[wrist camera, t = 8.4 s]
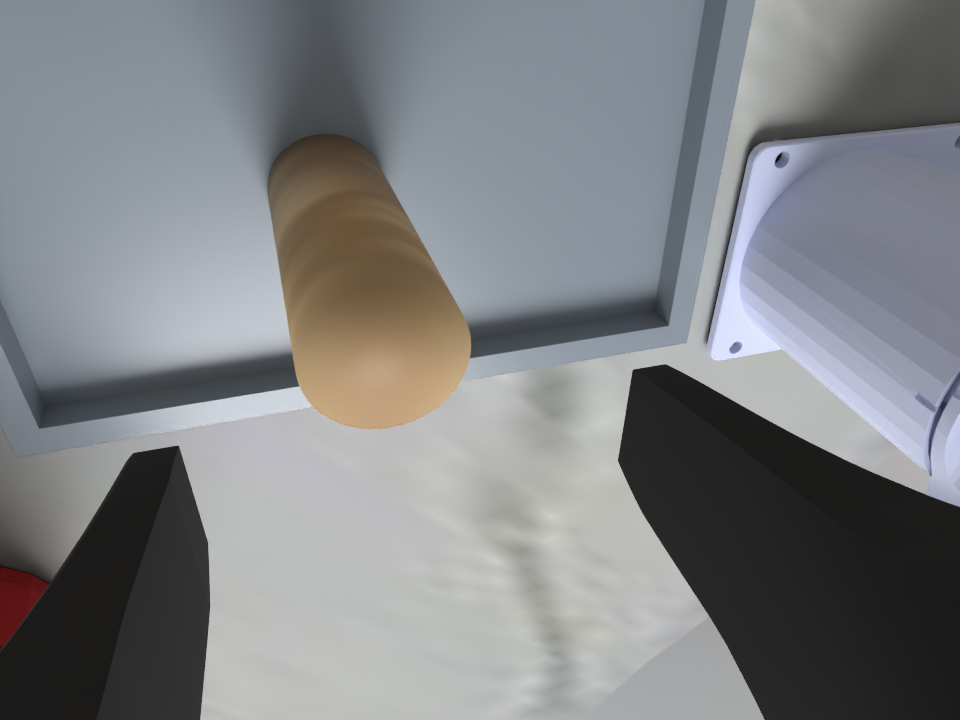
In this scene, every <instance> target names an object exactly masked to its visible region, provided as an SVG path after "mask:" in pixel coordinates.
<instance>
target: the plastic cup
mask: <svg viewBox="0 0 960 720" xmlns="http://www.w3.org/2000/svg"><path fill="white" fill-rule="evenodd" d="M48 585H49V584H47V583H46V582H44V581H42V580H41V579H39V578H37V577H36V576H34V575H32V574H29V573H25V572H20V571H16V570H12V569H8V568H4V567H0V650H1V648H2V647H3V646H4V645H5V643H6V642H7V641H8V640H9V638H10V637H11V636H12V634H13V633H14V632H15V630H16V629H17V628H18V626H19V625H20V623H21V622H22V621H23V619H24V618H25V617H26V615H27V614H28V613H29V611H30V610H31V608H32V607H33V606H34V604H35V603H36V602H37V600H38V599H39V598H40V596H41V595H42V593H43V592H44V591H45V589H46V588H47V587H48Z"/></svg>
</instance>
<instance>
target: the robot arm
mask: <svg viewBox="0 0 960 720" xmlns="http://www.w3.org/2000/svg"><path fill="white" fill-rule="evenodd" d="M780 153H782V156H781V158H780V160H779V161H778V162H777V163H775V159H776V157H777V156H778V155H779V154H780ZM733 343H735V344H734V345H733V346H732V347H730V346H731V345H732V344H733ZM780 349H783V350H784V351H785V352H786V353H787V354H788V355H790V356H791V357H792V358H793V359H794V360H796V361H797V362H798V363H799V364H800V365H801V366H803V367H804V368H805V369H806V370H807V371H808V372H810V373H811V374H812V375H813V376H814V377H815V378H817V379H818V380H819V381H820V382H821V383H822V384H824V385H825V386H826V387H827V388H828V389H829V390H831V391H832V392H833V393H834V394H835V395H836V396H838V397H839V398H840V399H841V400H842V401H844V402H845V403H846V404H847V405H848V406H849V407H851V408H852V409H853V410H854V411H855V412H856V413H858V414H859V415H860V416H861V417H862V418H863V419H865V420H866V421H867V422H868V423H869V424H870V425H872V426H873V427H874V428H875V429H876V430H877V431H879V432H880V433H881V434H882V435H883V436H884V437H886V438H887V439H888V440H889V441H890V442H891V443H893V444H894V445H895V446H896V447H897V448H899V449H900V450H901V451H902V452H903V453H904V454H906V455H907V456H908V457H909V458H910V459H911V460H913V461H914V462H915V463H916V464H917V465H918V466H920V467H921V468H922V469H923V470H924V471H926V472H927V473H928V474H929V475H930V476H931V481H930V484H929V486H928V488H927V490H926V492H925V493H924V494H923V493H920V492H917V491H915V490H913V489H910V488H908V487H906V486H903V485H901V484H899V483H896V482H894V481H891V480H889V479H887V478H884V477H882V476H880V475H877V474H875V473H872V472H870V471H868V470H866V469H863V468H861V467H859V466H857V465H855V464H852V463H850V462H848V461H846V460H844V459H842V458H840V457H838V456H836V455H834V454H832V453H830V452H828V451H826V450H824V449H822V448H820V447H818V446H815V445H813V444H811V443H809V442H807V441H806V440H804V439H802V438H800V437H798V436H796V435H794V434H792V433H790V432H788V431H786V430H785V429H783V428H781V427H779V426H777V425H775V424H773V423H772V422H770V421H768V420H766V419H764V418H763V417H761V416H759V415H757V414H755V413H754V412H752V411H750V410H748V409H746V408H745V407H743V406H741V405H739V404H738V403H736V402H734V401H732V400H731V399H729V398H727V397H725V396H723V395H722V394H720V393H718V392H716V391H715V390H713V389H711V388H709V387H708V386H706V385H704V384H702V383H700V382H699V381H697V380H695V379H693V378H691V377H690V376H688V375H686V374H684V373H682V372H680V371H678V370H676V369H674V368H672V367H670V366H668V365H666V364H665V365H659V366H653V367H647V368H641V369H635V370H633V372H632V378H631V385H630V391H629V397H628V403H627V409H626V415H625V421H624V428H623V434H622V440H621V446H620V452H619V458H618V462H619V464H620V467H621V469H622V471H623V473H624V475H625V478H626V480H627V482H628V484H629V487H630V489H631V491H632V493H633V495H634V497H635V499H636V501H637V503H638V505H639V507H640V509H641V511H642V513H643V514H644V516H645V518H646V519H647V521H648V523H649V524H650V526H651V527H652V529H653V530H654V532H655V533H656V535H657V537H658V538H659V540H660V541H661V543H662V544H663V546H664V548H665V549H666V551H667V552H668V554H669V555H670V557H671V558H672V560H673V561H674V563H675V564H676V566H677V567H678V569H679V570H680V572H681V574H682V575H683V577H684V578H685V580H686V581H687V583H688V584H689V586H690V587H691V589H692V590H693V592H694V593H695V595H696V596H697V598H698V599H699V601H700V603H701V604H702V606H703V607H704V609H705V610H706V612H707V613H708V615H709V616H710V618H711V619H712V621H713V623H714V624H715V626H716V628H717V629H718V631H719V633H720V634H721V636H722V638H723V639H724V641H725V643H726V644H727V646H728V648H729V650H730V652H731V654H732V656H733V658H734V660H735V662H736V664H737V666H738V667H739V669H740V671H741V673H742V675H743V677H744V679H745V681H746V683H747V685H748V687H749V689H750V691H751V693H752V694H753V696H754V698H755V700H756V702H757V705H758V707H759V709H760V711H761V713H762V715H763V717H764V719H765V720H960V123H953V124H942V125H932V126H922V127H912V128H902V129H892V130H882V131H872V132H862V133H852V134H841V135H831V136H821V137H811V138H801V139H791V140H781V141H771V142H764V143H761V144H759V145H757V146H756V147H755V148H754V149H753V150H752V152H751V153H750V155H749V158H748V161H747V165H746V170H745V175H744V179H743V184H742V188H741V193H740V197H739V202H738V206H737V211H736V215H735V220H734V225H733V229H732V234H731V238H730V243H729V247H728V252H727V256H726V261H725V265H724V270H723V275H722V279H721V284H720V288H719V293H718V297H717V302H716V306H715V311H714V315H713V320H712V325H711V329H710V334H709V338H708V343H707V353H708V354H709V355H710V356H711V357H712V358H713V359H715V360H725V359H730V358H736V357H741V356H747V355H752V354H758V353H764V352H769V351H775V350H780ZM209 613H210V584H209V557H208V541H207V538H206V535H205V531H204V528H203V525H202V521H201V518H200V515H199V511H198V508H197V505H196V502H195V498H194V495H193V492H192V488H191V485H190V482H189V478H188V475H187V472H186V468H185V465H184V462H183V458H182V455H181V452H180V448H179V446H173V447H167V448H161V449H155V450H149V451H143V452H137V453H133V454H132V455H131V457H130V458H129V459H128V460H127V461H126V463H125V465H124V467H123V468H122V470H121V472H120V474H119V475H118V477H117V479H116V480H115V482H114V484H113V486H112V487H111V489H110V491H109V492H108V494H107V496H106V497H105V499H104V501H103V502H102V504H101V506H100V507H99V509H98V511H97V512H96V514H95V515H94V517H93V519H92V520H91V522H90V523H89V525H88V527H87V528H86V530H85V531H84V533H83V534H82V536H81V537H80V539H79V541H78V542H77V544H76V545H75V547H74V548H73V550H72V551H71V553H70V554H69V556H68V557H67V559H66V560H65V562H64V563H63V565H62V566H61V568H60V569H59V571H58V572H57V574H56V575H55V577H54V578H53V580H52V581H51V582H50V584H49V585H48V587H47V588H46V589H45V591H44V592H43V593H42V595H41V596H40V598H39V599H38V600H37V602H36V603H35V604H34V606H33V607H32V608H31V610H30V611H29V613H28V614H27V615H26V617H25V618H24V619H23V621H22V622H21V623H20V625H19V626H18V628H17V629H16V630H15V632H14V633H13V634H12V636H11V637H10V638H9V640H8V641H7V642H6V643H5V645H4V646H3V647H2V648H1V650H0V720H200V714H201V703H202V692H203V681H204V671H205V660H206V648H207V637H208V626H209Z"/></svg>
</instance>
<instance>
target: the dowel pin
mask: <svg viewBox="0 0 960 720" xmlns="http://www.w3.org/2000/svg"><path fill="white" fill-rule="evenodd" d="M267 192H268V201H269V207H270V213H271V220H272V226H273V233H274V239H275V245H276V252H277V258H278V264H279V271H280V277H281V283H282V290H283V296H284V302H285V309H286V315H287V322H288V328H289V334H290V341H291V347H292V353H293V360H294V366H295V372H296V377H297V380H298V384H299V386H300V388H301V391H302V393H303V394H304V396H305V397H306V399H307V400H308V401H309V402H310V404H311V405H312V406H313V407H314V408H315V409H316V410H318V411H319V412H320V413H321V414H323V415H324V416H326V417H328V418H329V419H331V420H333V421H336V422H338V423H340V424H343V425H347V426H350V427H356V428H362V429H383V428H390V427H395V426H399V425H403V424H406V423H409V422H412V421H414V420H416V419H419V418H421V417H423V416H425V415H426V414H428V413H430V412H431V411H433V410H434V409H435V408H437V407H438V406H439V405H441V404H442V403H443V402H444V401H445V400H446V399H447V398H448V397H449V396H450V395H451V394H452V393H453V392H454V390H455V389H456V388H457V386H458V385H459V383H460V382H461V380H462V378H463V376H464V374H465V372H466V369H467V366H468V364H469V359H470V354H471V337H470V332H469V327H468V324H467V322H466V320H465V317H464V315H463V314H462V312H461V310H460V308H459V307H458V305H457V303H456V301H455V299H454V298H453V296H452V294H451V292H450V291H449V289H448V287H447V285H446V283H445V282H444V280H443V278H442V276H441V274H440V273H439V271H438V269H437V267H436V266H435V264H434V262H433V260H432V258H431V257H430V255H429V253H428V251H427V250H426V248H425V246H424V244H423V242H422V241H421V239H420V237H419V235H418V234H417V232H416V230H415V228H414V226H413V225H412V223H411V221H410V219H409V217H408V216H407V214H406V212H405V210H404V209H403V207H402V205H401V203H400V201H399V200H398V198H397V196H396V194H395V193H394V191H393V189H392V187H391V185H390V184H389V182H388V180H387V178H386V176H385V175H384V173H383V171H382V169H381V168H380V166H379V164H378V162H377V161H376V159H375V158H374V157H373V155H372V154H371V153H370V152H369V151H368V150H367V149H366V148H365V147H363V146H362V145H361V144H359V143H358V142H356V141H354V140H352V139H349V138H347V137H344V136H340V135H335V134H317V135H311V136H308V137H305V138H302V139H300V140H298V141H296V142H294V143H293V144H291V145H290V146H289V147H287V148H286V149H285V150H284V151H283V152H282V153H281V154H280V155H279V157H278V158H277V160H276V161H275V163H274V165H273V167H272V169H271V172H270V175H269V179H268V188H267Z"/></svg>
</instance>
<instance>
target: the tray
mask: <svg viewBox="0 0 960 720" xmlns="http://www.w3.org/2000/svg"><path fill="white" fill-rule="evenodd" d="M754 5H755V0H0V426H1V428H2V430H3V432H4V434H5V436H6V438H7V440H8V442H9V444H10V446H11V448H12V450H13V452H14V454H15V456H16V458H17V457H23V456H29V455H35V454H41V453H47V452H52V451H58V450H64V449H70V448H76V447H82V446H88V445H93V444H99V443H105V442H111V441H117V440H123V439H128V438H134V437H140V436H146V435H152V434H158V433H163V432H169V431H175V430H181V429H187V428H193V427H199V426H204V425H210V424H216V423H222V422H228V421H234V420H239V419H245V418H251V417H257V416H263V415H269V414H275V413H280V412H286V411H292V410H298V409H304V408H310V407H313V406H312V405H311V404H310V402H309V401H308V400H307V399H306V397H305V396H304V394H303V393H302V391H301V388H300V386H299V384H298V380H297V377H296V372H295V366H294V360H293V353H292V347H291V341H290V334H289V328H288V322H287V315H286V309H285V302H284V296H283V290H282V283H281V277H280V271H279V264H278V258H277V252H276V245H275V239H274V233H273V226H272V220H271V213H270V207H269V201H268V192H267V188H268V179H269V175H270V172H271V169H272V167H273V165H274V163H275V161H276V160H277V158H278V157H279V155H280V154H281V153H282V152H283V151H284V150H285V149H286V148H287V147H289V146H290V145H291V144H293V143H294V142H296V141H298V140H300V139H302V138H305V137H308V136H311V135H317V134H335V135H340V136H344V137H347V138H349V139H352V140H354V141H356V142H358V143H359V144H361V145H362V146H363V147H365V148H366V149H367V150H368V151H369V152H370V153H371V154H372V155H373V157H374V158H375V159H376V161H377V162H378V164H379V166H380V168H381V169H382V171H383V173H384V175H385V176H386V178H387V180H388V182H389V184H390V185H391V187H392V189H393V191H394V193H395V194H396V196H397V198H398V200H399V201H400V203H401V205H402V207H403V209H404V210H405V212H406V214H407V216H408V217H409V219H410V221H411V223H412V225H413V226H414V228H415V230H416V232H417V234H418V235H419V237H420V239H421V241H422V242H423V244H424V246H425V248H426V250H427V251H428V253H429V255H430V257H431V258H432V260H433V262H434V264H435V266H436V267H437V269H438V271H439V273H440V274H441V276H442V278H443V280H444V282H445V283H446V285H447V287H448V289H449V291H450V292H451V294H452V296H453V298H454V299H455V301H456V303H457V305H458V307H459V308H460V310H461V312H462V314H463V315H464V317H465V320H466V322H467V324H468V327H469V332H470V337H471V354H470V359H469V364H468V366H467V369H466V372H465V374H464V376H463V378H462V380H461V381H467V380H473V379H479V378H485V377H491V376H497V375H502V374H508V373H514V372H520V371H526V370H532V369H537V368H543V367H549V366H555V365H561V364H567V363H572V362H578V361H584V360H590V359H596V358H602V357H608V356H613V355H619V354H625V353H631V352H637V351H643V350H648V349H654V348H660V347H666V346H672V345H678V344H684V343H687V339H688V334H689V329H690V324H691V319H692V314H693V309H694V304H695V299H696V294H697V289H698V284H699V279H700V274H701V269H702V264H703V259H704V254H705V249H706V244H707V239H708V234H709V229H710V224H711V219H712V214H713V209H714V204H715V199H716V194H717V189H718V184H719V179H720V174H721V169H722V164H723V159H724V154H725V149H726V144H727V139H728V134H729V129H730V124H731V119H732V114H733V109H734V105H735V100H736V95H737V90H738V85H739V80H740V75H741V70H742V65H743V60H744V55H745V50H746V45H747V40H748V35H749V30H750V25H751V20H752V15H753V10H754Z"/></svg>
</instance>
